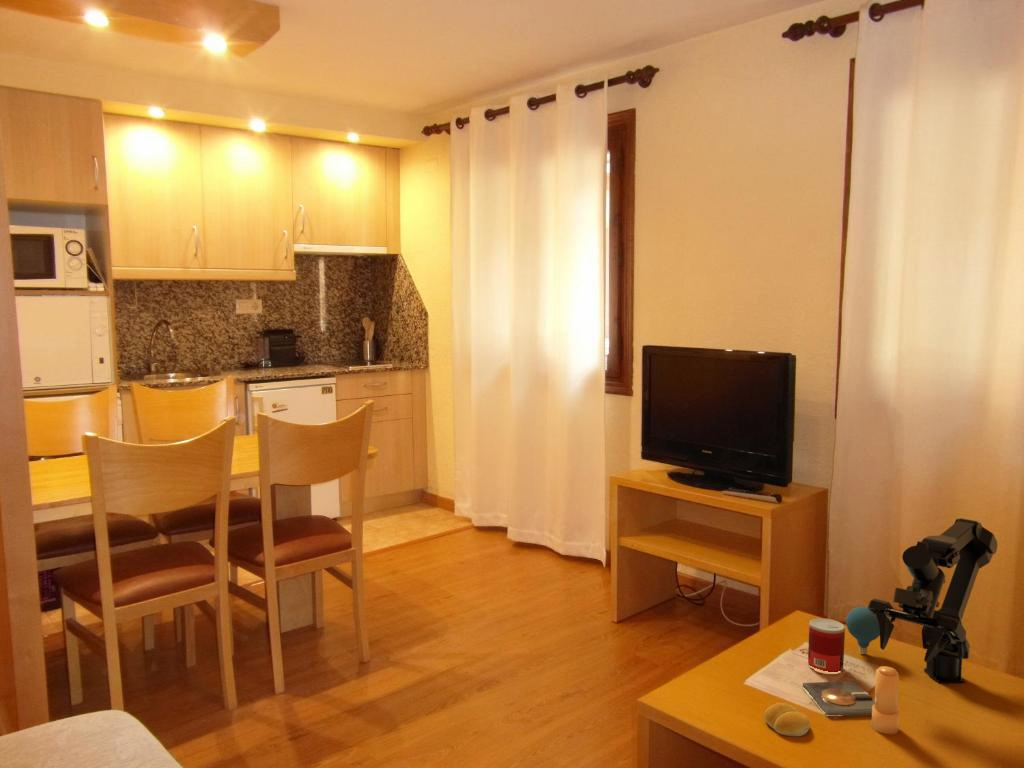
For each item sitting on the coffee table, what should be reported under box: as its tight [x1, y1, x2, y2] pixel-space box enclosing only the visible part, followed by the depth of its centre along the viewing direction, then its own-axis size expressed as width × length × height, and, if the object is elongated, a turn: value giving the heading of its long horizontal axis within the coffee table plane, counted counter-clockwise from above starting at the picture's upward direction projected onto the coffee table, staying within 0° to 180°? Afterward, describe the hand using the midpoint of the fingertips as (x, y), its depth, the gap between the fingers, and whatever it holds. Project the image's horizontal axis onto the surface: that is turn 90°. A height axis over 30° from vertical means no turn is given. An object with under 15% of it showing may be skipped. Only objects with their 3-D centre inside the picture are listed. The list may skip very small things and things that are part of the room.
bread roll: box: [763, 702, 810, 737], centre depth 161 cm, size 8×9×4 cm
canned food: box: [807, 617, 846, 672], centre depth 186 cm, size 8×8×11 cm
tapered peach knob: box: [870, 665, 900, 735], centre depth 159 cm, size 5×5×13 cm
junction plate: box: [802, 680, 875, 717], centre depth 170 cm, size 12×12×2 cm
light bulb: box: [845, 606, 880, 655], centre depth 194 cm, size 8×8×12 cm
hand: (903, 655), depth 164 cm, fingers open, 9 cm apart
